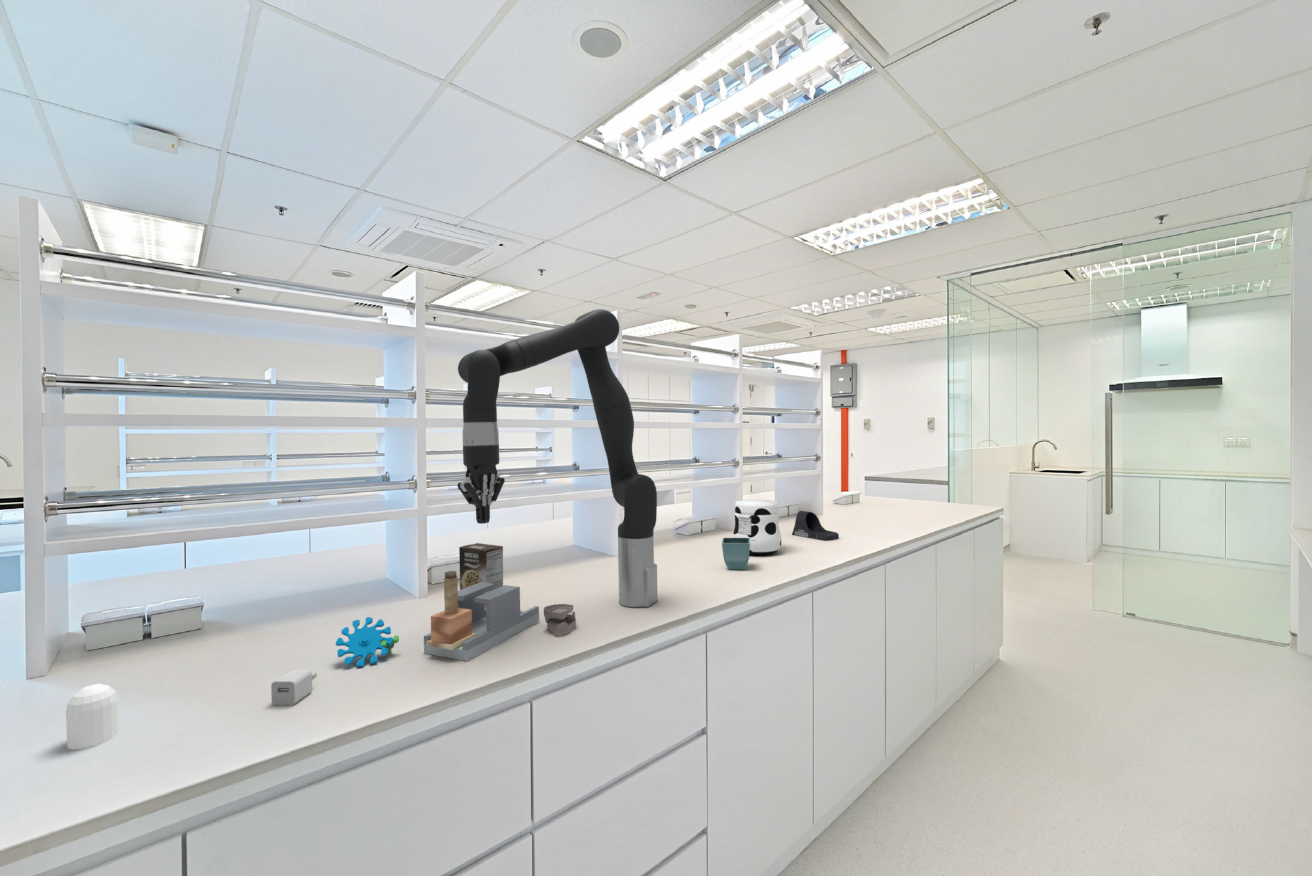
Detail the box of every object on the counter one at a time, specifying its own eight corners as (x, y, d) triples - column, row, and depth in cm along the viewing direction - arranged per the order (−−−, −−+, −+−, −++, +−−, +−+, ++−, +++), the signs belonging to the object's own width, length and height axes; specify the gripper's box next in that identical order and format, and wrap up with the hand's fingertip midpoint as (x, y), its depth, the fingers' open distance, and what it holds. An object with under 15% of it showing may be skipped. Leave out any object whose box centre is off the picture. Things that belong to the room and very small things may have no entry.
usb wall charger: (271, 705, 91) (271, 681, 91) (300, 686, 98) (299, 663, 98) (295, 705, 91) (294, 681, 91) (322, 686, 98) (321, 663, 98)
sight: (827, 542, 216) (827, 516, 216) (791, 535, 231) (790, 511, 231) (841, 539, 221) (841, 514, 221) (805, 532, 236) (805, 509, 236)
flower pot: (721, 571, 173) (721, 542, 173) (723, 564, 182) (722, 537, 182) (750, 572, 172) (750, 543, 171) (750, 565, 180) (749, 537, 180)
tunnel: (539, 621, 130) (538, 578, 130) (466, 661, 108) (465, 610, 107) (501, 615, 134) (500, 574, 134) (424, 653, 112) (423, 603, 112)
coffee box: (459, 611, 138) (457, 546, 138) (478, 604, 144) (477, 542, 144) (486, 616, 134) (484, 550, 134) (504, 608, 140) (503, 544, 139)
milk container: (778, 547, 207) (777, 499, 207) (784, 557, 190) (784, 505, 190) (731, 546, 209) (731, 499, 208) (733, 557, 191) (733, 505, 191)
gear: (329, 664, 103) (341, 615, 110) (331, 678, 107) (342, 629, 114) (394, 663, 107) (402, 615, 114) (393, 676, 111) (401, 629, 118)
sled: (476, 637, 114) (475, 569, 113) (451, 650, 107) (450, 578, 107) (452, 633, 116) (451, 567, 116) (426, 645, 110) (425, 575, 109)
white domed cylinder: (59, 745, 80) (57, 691, 80) (106, 727, 85) (104, 675, 85) (79, 752, 78) (77, 696, 78) (126, 733, 83) (125, 680, 83)
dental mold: (557, 622, 129) (557, 600, 129) (582, 626, 126) (582, 604, 126) (536, 633, 122) (535, 611, 122) (562, 638, 119) (561, 615, 119)
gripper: (473, 444, 112) (476, 529, 113) (514, 442, 125) (516, 518, 125) (445, 444, 115) (447, 527, 116) (487, 442, 128) (489, 517, 128)
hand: (483, 522), depth 120 cm, fingers closed
